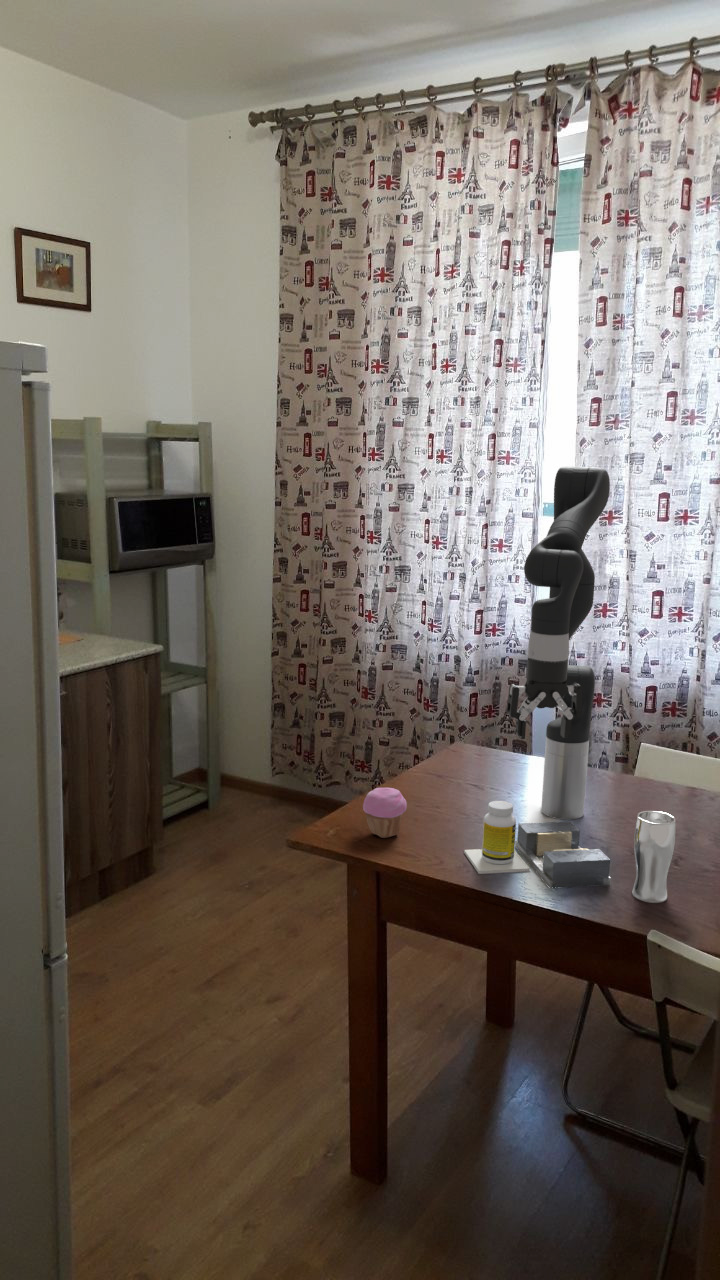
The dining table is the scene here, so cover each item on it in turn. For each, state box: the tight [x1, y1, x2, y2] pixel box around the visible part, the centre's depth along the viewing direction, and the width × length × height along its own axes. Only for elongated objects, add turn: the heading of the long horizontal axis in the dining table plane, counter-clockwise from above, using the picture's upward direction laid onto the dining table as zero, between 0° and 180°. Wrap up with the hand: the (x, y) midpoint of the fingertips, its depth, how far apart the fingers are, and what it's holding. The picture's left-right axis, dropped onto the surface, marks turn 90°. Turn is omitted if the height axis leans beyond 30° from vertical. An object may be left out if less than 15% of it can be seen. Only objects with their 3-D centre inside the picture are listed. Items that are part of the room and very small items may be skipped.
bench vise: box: [514, 820, 612, 889], centre depth 192 cm, size 19×12×5 cm, turn 10°
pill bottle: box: [481, 800, 517, 864], centre depth 192 cm, size 6×6×11 cm
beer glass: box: [632, 810, 677, 904], centre depth 179 cm, size 7×7×15 cm
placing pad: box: [463, 848, 531, 875], centre depth 193 cm, size 10×10×1 cm
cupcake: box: [362, 787, 408, 839], centre depth 204 cm, size 9×9×10 cm
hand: (542, 737), depth 191 cm, fingers open, 8 cm apart
